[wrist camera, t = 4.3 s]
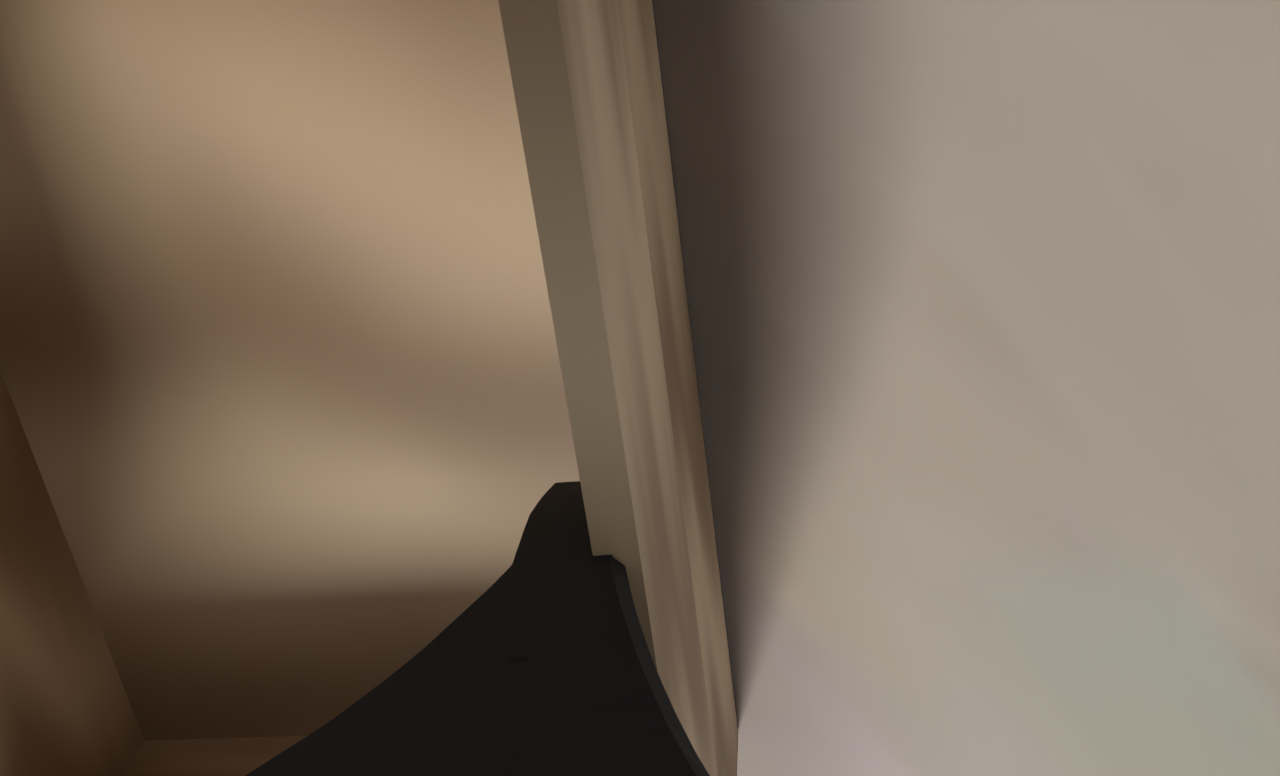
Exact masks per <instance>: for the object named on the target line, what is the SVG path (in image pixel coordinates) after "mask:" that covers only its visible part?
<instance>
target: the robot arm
mask: <svg viewBox="0 0 1280 776" xmlns="http://www.w3.org/2000/svg"><path fill="white" fill-rule="evenodd" d="M245 776H710V775H709V773H708V772H707V770H706V769H705V767H704V765H703V764H702V762H701V760H700V759H699V757H698V755H697V754H696V752H695V750H694V748H693V746H692V744H691V742H690V740H689V738H688V736H687V734H686V732H685V730H684V728H683V727H682V725H681V723H680V721H679V719H678V717H677V715H676V713H675V710H674V708H673V706H672V704H671V702H670V699H669V697H668V695H667V693H666V691H665V689H664V686H663V684H662V682H661V679H660V677H659V674H658V672H657V670H656V667H655V665H654V662H653V659H652V657H651V654H650V652H649V649H648V646H647V643H646V640H645V637H644V634H643V631H642V628H641V625H640V622H639V619H638V616H637V612H636V609H635V606H634V602H633V598H632V594H631V590H630V585H629V581H628V576H627V572H626V567H625V565H623V564H622V563H620V562H619V561H618V560H616V559H615V558H613V556H612V555H598V556H593V554H592V548H591V542H590V536H589V530H588V525H587V519H586V513H585V507H584V501H583V495H582V489H581V483H580V481H574V482H559V483H555V484H554V485H553V486H552V487H551V488H550V489H549V490H548V491H547V492H546V493H545V494H544V495H543V496H542V498H541V499H540V500H539V502H538V503H537V505H536V506H535V508H534V509H533V510H532V512H531V513H530V515H529V518H528V520H527V523H526V526H525V529H524V531H523V534H522V537H521V540H520V543H519V546H518V549H517V551H516V554H515V557H514V561H513V564H512V565H511V566H510V567H509V568H508V569H507V570H506V572H505V573H504V574H503V575H502V576H501V577H500V578H499V579H498V580H497V581H496V582H495V583H494V584H493V585H492V586H491V587H490V588H489V589H488V590H487V591H486V592H484V593H483V594H482V595H481V596H480V597H479V598H478V599H477V600H476V601H475V602H474V603H473V604H471V605H470V606H469V607H468V608H467V609H466V610H465V611H464V612H463V613H462V614H461V615H459V616H458V617H457V618H456V619H455V620H454V621H453V622H452V623H451V624H450V625H449V626H448V627H446V628H445V629H444V630H443V631H442V632H441V633H440V634H439V635H438V636H437V637H436V638H435V639H433V640H432V641H431V642H430V643H429V644H428V645H427V646H426V647H425V648H424V649H422V650H421V651H420V652H419V653H418V654H416V655H415V656H414V657H413V658H412V659H410V660H409V661H408V662H407V663H406V664H404V665H403V666H402V667H401V668H399V669H398V670H397V671H396V672H394V673H393V674H392V675H391V676H389V677H388V678H387V679H386V680H384V681H383V682H382V683H381V684H379V685H378V686H377V687H375V688H374V689H372V690H371V691H370V692H368V693H367V694H366V695H364V696H363V697H362V698H360V699H359V700H358V701H356V702H355V703H354V704H352V705H351V706H350V707H348V708H347V709H346V710H344V711H343V712H342V713H340V714H339V715H338V716H336V717H335V718H333V719H332V720H330V721H329V722H328V723H326V724H325V725H323V726H322V727H320V728H319V729H317V730H316V731H314V732H313V733H311V734H310V735H308V736H306V737H305V738H303V739H302V740H300V741H299V742H297V743H295V744H294V745H292V746H291V747H289V748H288V749H286V750H285V751H283V752H281V753H280V754H278V755H277V756H275V757H274V758H272V759H270V760H269V761H267V762H266V763H264V764H263V765H261V766H259V767H258V768H256V769H255V770H253V771H252V772H250V773H248V774H247V775H245Z"/></svg>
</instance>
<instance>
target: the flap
mask: <svg viewBox="0 0 1280 776" xmlns="http://www.w3.org/2000/svg"><path fill="white" fill-rule="evenodd" d="M498 2H499V7H500V13H501V19H502V25H503V31H504V37H505V43H506V49H507V54H508V60H509V66H510V72H511V78H512V84H513V90H514V96H515V101H516V107H517V113H518V119H519V125H520V131H521V137H522V143H523V148H524V154H525V160H526V166H527V172H528V178H529V184H530V190H531V195H532V201H533V207H534V213H535V219H536V225H537V231H538V237H539V242H540V248H541V254H542V260H543V266H544V272H545V278H546V284H547V289H548V295H549V301H550V307H551V313H552V319H553V325H554V331H555V337H556V342H557V348H558V354H559V360H560V366H561V372H562V378H563V384H564V389H565V395H566V401H567V407H568V413H569V419H570V425H571V431H572V436H573V442H574V448H575V454H576V460H577V466H578V472H579V478H580V483H581V489H582V495H583V501H584V507H585V513H586V519H587V525H588V530H589V536H590V542H591V548H592V554H593V556H598V555H612V556H613V558H615V559H616V560H618V561H619V562H620V563H622V564H623V565H625V567H626V572H627V576H628V581H629V585H630V590H631V594H632V598H633V602H634V606H635V609H636V612H637V616H638V619H639V622H640V625H641V628H642V631H643V634H644V637H645V640H646V643H647V646H648V649H649V652H650V654H651V657H652V659H653V662H654V665H655V667H656V670H657V672H658V674H659V677H660V679H661V682H662V684H663V686H664V689H665V691H666V693H667V695H668V697H669V699H670V702H671V704H672V706H673V708H674V710H675V713H676V715H677V717H678V719H679V721H680V723H681V725H682V727H683V728H684V730H685V732H686V734H687V736H688V738H689V740H690V742H691V744H692V746H693V748H694V750H695V752H696V754H697V755H698V757H699V759H700V760H701V762H702V764H703V765H704V767H705V769H706V770H707V772H708V773H709V775H710V776H717V770H716V762H715V754H714V746H713V739H712V731H711V723H710V716H709V708H708V700H707V693H706V685H705V677H704V669H703V662H702V654H701V646H700V639H699V631H698V623H697V615H696V608H695V600H694V592H693V585H692V577H691V569H690V561H689V554H688V546H687V538H686V531H685V523H684V515H683V507H682V500H681V492H680V484H679V477H678V469H677V461H676V454H675V446H674V438H673V430H672V423H671V415H670V407H669V400H668V392H667V384H666V376H665V369H664V361H663V353H662V346H661V338H660V330H659V322H658V315H657V307H656V299H655V292H654V284H653V276H652V269H651V261H650V253H649V245H648V238H647V230H646V222H645V215H644V207H643V199H642V191H641V184H640V176H639V168H638V161H637V153H636V145H635V137H634V130H633V122H632V114H631V107H630V99H629V91H628V84H627V76H626V68H625V60H624V53H623V45H622V37H621V30H620V22H619V14H618V6H617V0H498Z"/></svg>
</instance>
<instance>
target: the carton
mask: <svg viewBox="0 0 1280 776" xmlns="http://www.w3.org/2000/svg"><path fill="white" fill-rule="evenodd" d="M617 6H618V14H619V22H620V30H621V37H622V45H623V53H624V60H625V68H626V76H627V84H628V91H629V99H630V107H631V114H632V122H633V130H634V137H635V145H636V153H637V161H638V168H639V176H640V184H641V191H642V199H643V207H644V215H645V222H646V230H647V238H648V245H649V253H650V261H651V269H652V276H653V284H654V292H655V299H656V307H657V315H658V322H659V330H660V338H661V346H662V353H663V361H664V369H665V376H666V384H667V392H668V400H669V407H670V415H671V423H672V430H673V438H674V446H675V454H676V461H677V469H678V477H679V484H680V492H681V500H682V507H683V515H684V523H685V531H686V538H687V546H688V554H689V561H690V569H691V577H692V585H693V592H694V600H695V608H696V615H697V623H698V631H699V639H700V646H701V654H702V662H703V669H704V677H705V685H706V693H707V700H708V708H709V716H710V723H711V731H712V739H713V746H714V754H715V762H716V770H717V776H737V754H738V727H737V718H736V710H735V701H734V693H733V684H732V676H731V667H730V659H729V650H728V642H727V633H726V625H725V616H724V608H723V599H722V591H721V582H720V574H719V565H718V557H717V548H716V540H715V531H714V523H713V514H712V506H711V497H710V489H709V480H708V472H707V463H706V455H705V446H704V438H703V429H702V421H701V412H700V404H699V395H698V387H697V378H696V370H695V361H694V353H693V344H692V336H691V327H690V319H689V310H688V302H687V293H686V285H685V276H684V268H683V259H682V251H681V242H680V234H679V225H678V217H677V208H676V200H675V191H674V183H673V174H672V166H671V157H670V149H669V140H668V132H667V123H666V115H665V106H664V98H663V89H662V81H661V72H660V64H659V55H658V47H657V38H656V30H655V21H654V13H653V4H652V0H617ZM574 481H580V478H579V472H578V466H577V460H576V454H575V448H574V442H573V436H572V431H571V425H570V419H569V413H568V407H567V401H566V395H565V389H564V384H563V378H562V372H561V366H560V360H559V354H558V348H557V342H556V337H555V331H554V325H553V319H552V313H551V307H550V301H549V295H548V289H547V284H546V278H545V272H544V266H543V260H542V254H541V248H540V242H539V237H538V231H537V225H536V219H535V213H534V207H533V201H532V195H531V190H530V184H529V178H528V172H527V166H526V160H525V154H524V148H523V143H522V137H521V131H520V125H519V119H518V113H517V107H516V101H515V96H514V90H513V84H512V78H511V72H510V66H509V60H508V54H507V49H506V43H505V37H504V31H503V25H502V19H501V13H500V7H499V2H498V0H0V776H245V775H247V774H248V773H250V772H252V771H253V770H255V769H256V768H258V767H259V766H261V765H263V764H264V763H266V762H267V761H269V760H270V759H272V758H274V757H275V756H277V755H278V754H280V753H281V752H283V751H285V750H286V749H288V748H289V747H291V746H292V745H294V744H295V743H297V742H299V741H300V740H302V739H303V738H305V737H306V736H308V735H310V734H311V733H313V732H314V731H316V730H317V729H319V728H320V727H322V726H323V725H325V724H326V723H328V722H329V721H330V720H332V719H333V718H335V717H336V716H338V715H339V714H340V713H342V712H343V711H344V710H346V709H347V708H348V707H350V706H351V705H352V704H354V703H355V702H356V701H358V700H359V699H360V698H362V697H363V696H364V695H366V694H367V693H368V692H370V691H371V690H372V689H374V688H375V687H377V686H378V685H379V684H381V683H382V682H383V681H384V680H386V679H387V678H388V677H389V676H391V675H392V674H393V673H394V672H396V671H397V670H398V669H399V668H401V667H402V666H403V665H404V664H406V663H407V662H408V661H409V660H410V659H412V658H413V657H414V656H415V655H416V654H418V653H419V652H420V651H421V650H422V649H424V648H425V647H426V646H427V645H428V644H429V643H430V642H431V641H432V640H433V639H435V638H436V637H437V636H438V635H439V634H440V633H441V632H442V631H443V630H444V629H445V628H446V627H448V626H449V625H450V624H451V623H452V622H453V621H454V620H455V619H456V618H457V617H458V616H459V615H461V614H462V613H463V612H464V611H465V610H466V609H467V608H468V607H469V606H470V605H471V604H473V603H474V602H475V601H476V600H477V599H478V598H479V597H480V596H481V595H482V594H483V593H484V592H486V591H487V590H488V589H489V588H490V587H491V586H492V585H493V584H494V583H495V582H496V581H497V580H498V579H499V578H500V577H501V576H502V575H503V574H504V573H505V572H506V570H507V569H508V568H509V567H510V566H511V565H512V564H513V561H514V557H515V554H516V551H517V549H518V546H519V543H520V540H521V537H522V534H523V531H524V529H525V526H526V523H527V520H528V518H529V515H530V513H531V512H532V510H533V509H534V508H535V506H536V505H537V503H538V502H539V500H540V499H541V498H542V496H543V495H544V494H545V493H546V492H547V491H548V490H549V489H550V488H551V487H552V486H553V485H554V484H555V483H559V482H574Z"/></svg>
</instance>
